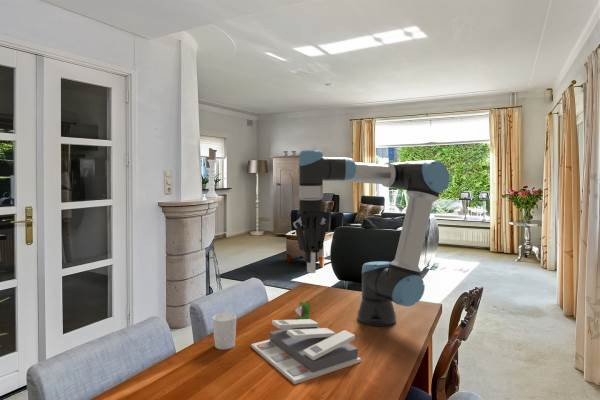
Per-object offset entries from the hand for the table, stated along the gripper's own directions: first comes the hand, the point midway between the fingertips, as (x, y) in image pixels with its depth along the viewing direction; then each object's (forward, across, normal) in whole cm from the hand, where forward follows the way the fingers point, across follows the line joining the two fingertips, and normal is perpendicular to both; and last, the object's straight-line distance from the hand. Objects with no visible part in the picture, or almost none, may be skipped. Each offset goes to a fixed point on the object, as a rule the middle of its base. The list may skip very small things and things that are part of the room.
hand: (311, 272), depth 126 cm
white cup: (+27, +22, -20) cm, 40 cm away
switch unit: (+26, +3, 0) cm, 27 cm away
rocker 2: (+20, 0, 0) cm, 20 cm away
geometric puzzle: (+27, -14, -26) cm, 40 cm away
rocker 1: (+20, 0, -10) cm, 23 cm away
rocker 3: (+20, 0, +10) cm, 23 cm away
